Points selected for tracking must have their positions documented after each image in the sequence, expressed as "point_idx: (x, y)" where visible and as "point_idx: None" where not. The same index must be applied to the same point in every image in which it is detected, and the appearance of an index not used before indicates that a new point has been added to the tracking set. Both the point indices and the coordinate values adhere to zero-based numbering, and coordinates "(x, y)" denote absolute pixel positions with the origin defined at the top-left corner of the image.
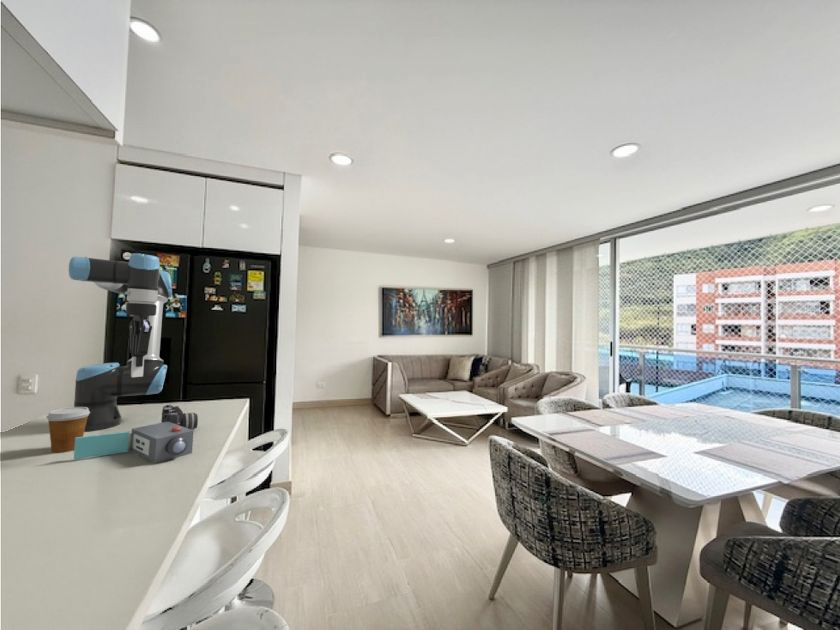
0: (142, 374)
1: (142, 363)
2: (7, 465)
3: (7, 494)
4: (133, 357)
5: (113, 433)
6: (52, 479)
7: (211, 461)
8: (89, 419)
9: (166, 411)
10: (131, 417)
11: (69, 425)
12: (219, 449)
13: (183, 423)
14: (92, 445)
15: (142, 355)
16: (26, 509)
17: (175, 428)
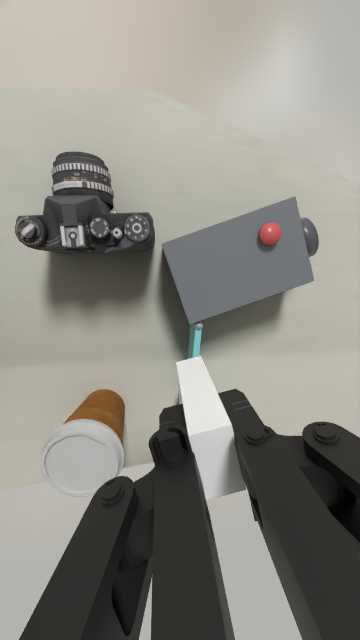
0: (202, 362)
1: (247, 400)
2: None
3: None
4: (237, 484)
5: (196, 355)
6: (261, 403)
7: (346, 184)
8: None
9: (88, 241)
10: None
11: (121, 437)
12: (284, 151)
13: (111, 201)
14: None
15: (296, 446)
16: (351, 412)
17: (275, 236)
